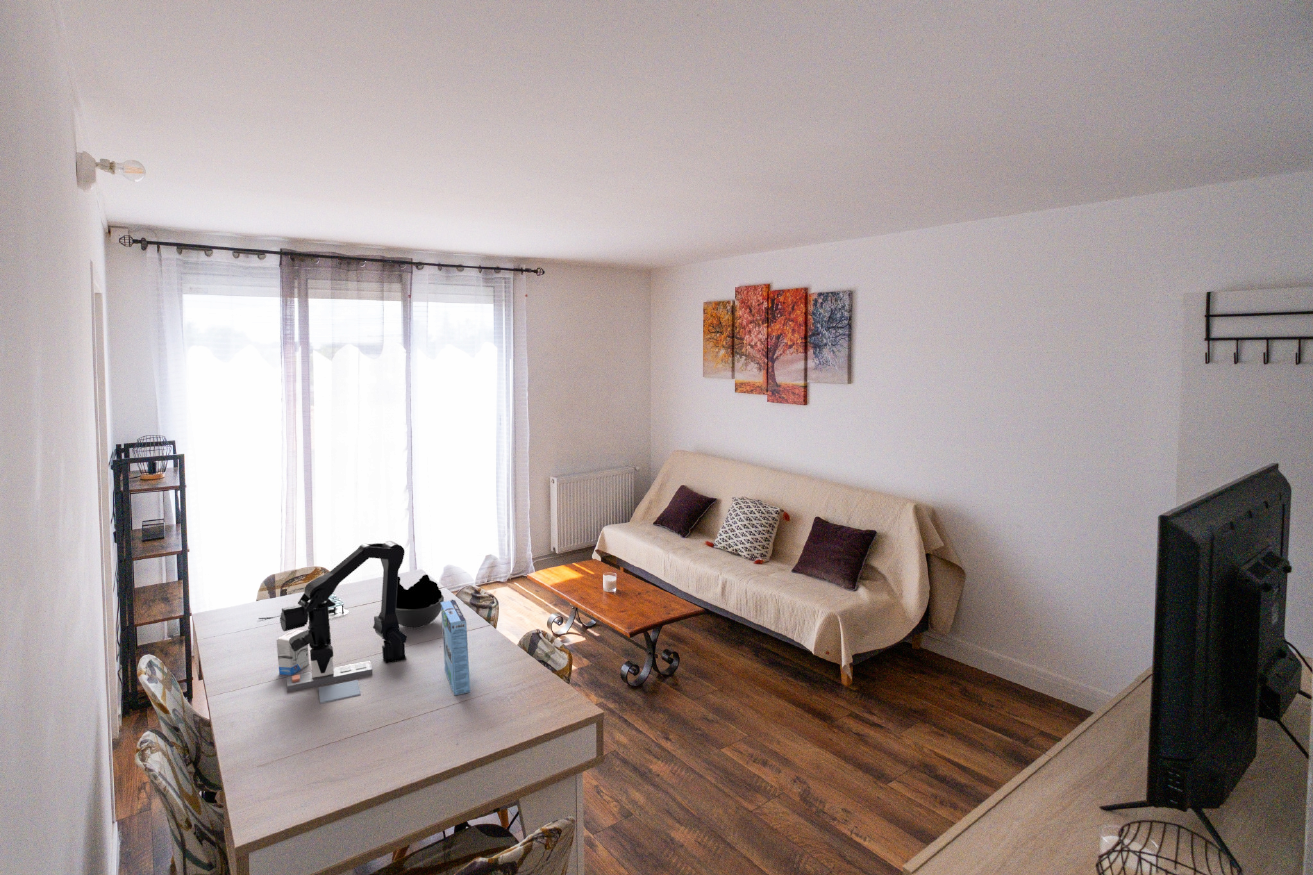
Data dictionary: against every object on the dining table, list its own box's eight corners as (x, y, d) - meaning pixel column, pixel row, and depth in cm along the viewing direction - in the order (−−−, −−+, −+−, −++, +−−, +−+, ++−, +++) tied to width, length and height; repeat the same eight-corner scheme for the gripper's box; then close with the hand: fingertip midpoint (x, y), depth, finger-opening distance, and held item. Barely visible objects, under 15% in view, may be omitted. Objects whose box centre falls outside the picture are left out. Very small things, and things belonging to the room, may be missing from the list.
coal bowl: (456, 622, 266) (454, 574, 264) (412, 641, 249) (409, 590, 247) (421, 612, 277) (418, 565, 274) (377, 629, 260) (374, 580, 258)
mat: (357, 681, 220) (357, 679, 220) (360, 695, 211) (360, 693, 211) (318, 689, 215) (318, 687, 215) (320, 704, 206) (319, 702, 206)
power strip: (370, 666, 230) (369, 658, 230) (372, 675, 224) (371, 666, 224) (287, 682, 219) (286, 674, 219) (287, 692, 213) (286, 683, 213)
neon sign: (255, 606, 273) (335, 590, 292) (256, 617, 274) (336, 600, 292) (265, 623, 257) (350, 604, 275) (266, 634, 258) (350, 614, 276)
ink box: (291, 675, 224) (289, 640, 222) (278, 674, 225) (275, 639, 223) (310, 663, 232) (307, 629, 231) (297, 662, 233) (294, 628, 232)
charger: (333, 673, 224) (331, 642, 223) (334, 679, 220) (331, 647, 219) (312, 677, 221) (310, 646, 220) (312, 683, 217) (310, 651, 216)
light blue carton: (470, 692, 212) (467, 620, 209) (453, 696, 210) (449, 623, 207) (459, 666, 230) (456, 599, 227) (443, 669, 228) (440, 601, 225)
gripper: (289, 616, 223) (293, 663, 225) (289, 638, 206) (293, 688, 208) (328, 610, 228) (331, 656, 230) (331, 630, 211) (335, 679, 214)
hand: (322, 669), depth 220 cm, fingers closed on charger, 4 cm apart
